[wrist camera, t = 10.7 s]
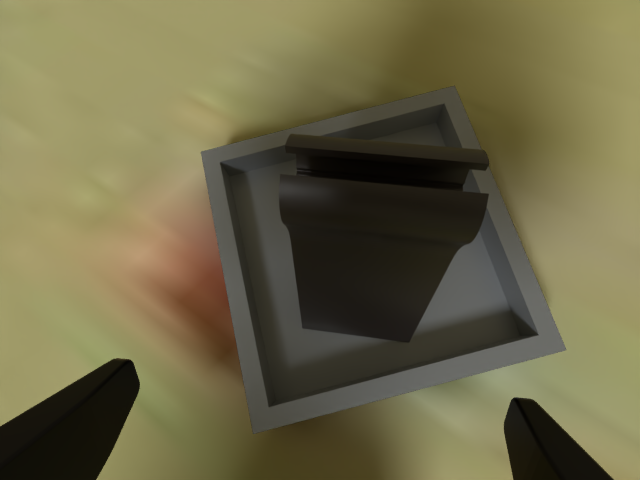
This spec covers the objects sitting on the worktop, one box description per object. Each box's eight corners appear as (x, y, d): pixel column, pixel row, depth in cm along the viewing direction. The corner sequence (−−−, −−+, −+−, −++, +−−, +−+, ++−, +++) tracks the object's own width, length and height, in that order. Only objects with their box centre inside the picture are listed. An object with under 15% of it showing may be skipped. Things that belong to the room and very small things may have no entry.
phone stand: (407, 343, 21) (486, 343, 9) (302, 328, 21) (254, 311, 10) (418, 194, 23) (493, 47, 12) (323, 184, 24) (304, 35, 12)
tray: (536, 349, 21) (566, 350, 18) (265, 421, 21) (253, 433, 18) (442, 114, 26) (454, 85, 23) (217, 173, 26) (200, 151, 23)
